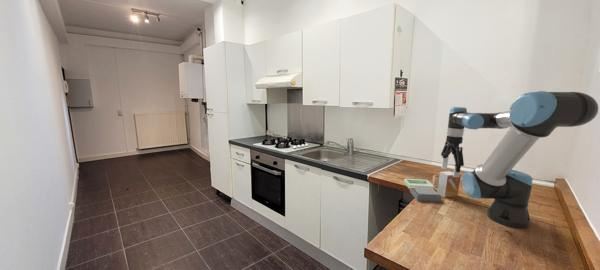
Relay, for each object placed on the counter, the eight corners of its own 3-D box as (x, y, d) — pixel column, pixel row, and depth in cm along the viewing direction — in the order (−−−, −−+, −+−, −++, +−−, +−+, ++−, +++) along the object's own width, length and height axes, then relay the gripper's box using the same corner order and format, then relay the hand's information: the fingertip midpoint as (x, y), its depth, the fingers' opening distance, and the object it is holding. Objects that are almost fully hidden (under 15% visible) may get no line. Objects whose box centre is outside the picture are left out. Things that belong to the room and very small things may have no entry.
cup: (447, 188, 148) (448, 179, 147) (435, 188, 149) (436, 178, 148) (442, 184, 155) (443, 175, 154) (430, 183, 156) (431, 174, 155)
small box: (444, 197, 136) (447, 175, 134) (437, 192, 142) (439, 171, 140) (458, 196, 137) (461, 174, 135) (449, 192, 143) (452, 170, 141)
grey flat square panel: (438, 195, 131) (438, 194, 131) (418, 194, 132) (419, 193, 132) (430, 188, 141) (430, 186, 141) (412, 187, 142) (412, 185, 142)
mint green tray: (434, 190, 146) (434, 186, 145) (409, 189, 147) (409, 185, 146) (426, 183, 156) (426, 179, 156) (403, 182, 158) (404, 178, 157)
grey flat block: (440, 201, 131) (441, 195, 130) (416, 200, 132) (416, 194, 131) (431, 192, 142) (431, 186, 142) (408, 191, 144) (409, 185, 143)
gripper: (475, 140, 121) (469, 181, 125) (450, 131, 145) (446, 165, 149) (459, 140, 122) (453, 180, 126) (437, 131, 146) (433, 165, 150)
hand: (449, 172), depth 138 cm, fingers open, 13 cm apart
